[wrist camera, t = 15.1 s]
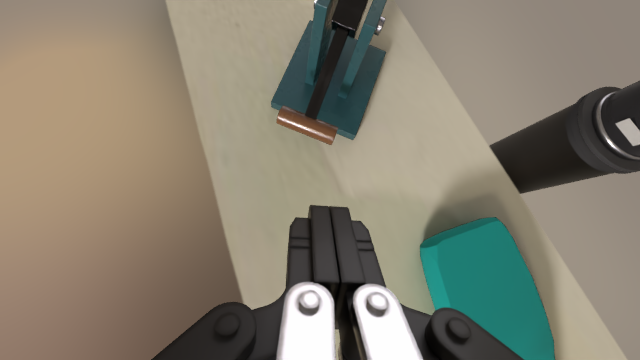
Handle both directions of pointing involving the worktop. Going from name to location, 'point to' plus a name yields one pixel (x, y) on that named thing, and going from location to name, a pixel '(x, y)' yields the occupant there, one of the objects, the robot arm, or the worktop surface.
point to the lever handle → (326, 75)
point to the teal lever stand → (350, 74)
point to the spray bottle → (488, 285)
